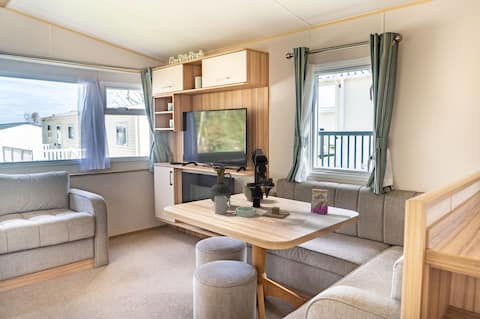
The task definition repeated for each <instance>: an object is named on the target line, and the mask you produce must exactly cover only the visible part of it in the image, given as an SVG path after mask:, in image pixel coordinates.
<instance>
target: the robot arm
mask: <svg viewBox="0 0 480 319" xmlns="http://www.w3.org/2000/svg"><path fill="white" fill-rule="evenodd" d="M262 150H263V149H262V148H254V150H253V151H252V152H251V156H250V159H251V163H252V164H253V167H254V168H253V182H247V183H246V186H247V187H249V189H250V190H251V200H253V201H252V206H251V207H254V208H255V209H260V208H262V207H263V206H262V205H261V201H262V200H264V194H265V199H268V197H269V194H270V192H271V190H272V189H274V188H275V187H276V185H275V183H274V180H273V179H274V178H272V177H269V178H268V177H267V175H266V173H267V172H268V168H267V166H268V164H269V160H268V156H266V154H264V152H263V151H262ZM260 186H262V187H264V190H263V191H262V188H261V187H260ZM252 197H253V198H252Z"/></svg>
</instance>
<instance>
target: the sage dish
mask: <svg viewBox="0 0 480 319" xmlns="http://www.w3.org/2000/svg"><path fill="white" fill-rule="evenodd" d="M235 215H236V217H243V218H250V217H255V216H257V208H254V207H252V206H239V207H238V206H237V207H236V208H235Z"/></svg>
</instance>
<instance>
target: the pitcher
mask: <svg viewBox="0 0 480 319" xmlns="http://www.w3.org/2000/svg"><path fill="white" fill-rule="evenodd" d="M226 170H227V169H226V167H225V166H223V165H219V167H218V169H216V168H215V169H214V170H213V171H214V172H216V178H217V179H216V183H215V184H213V185H212V186H211V187H210V191H209V198H210V200H211V201H212V202H213V203H214V204H215V196H226V197H227V198H229V199H230V200H231V196H232V189H231V188H230V186H231V183H232V181H233V180H232V178H233V177H232V174H231V172H229V171H228V172H226ZM227 175H229V183H228V184H226V183H225V176H227ZM227 203H229V201H227Z"/></svg>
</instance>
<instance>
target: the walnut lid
mask: <svg viewBox="0 0 480 319" xmlns="http://www.w3.org/2000/svg"><path fill="white" fill-rule="evenodd" d="M280 208H281V207H280V206H273V207H271V210H270V209H269V210H267V211H266V212H264V213H262V214H261V215H262V216H265V217H264V218H269V217H272V218H271V219H276V218H280V219H279V220H283V219H282V218H284V217H285V216H287V215H288V214H290V212H287V211H280ZM287 217H288V216H287ZM284 219H285V218H284Z"/></svg>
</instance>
